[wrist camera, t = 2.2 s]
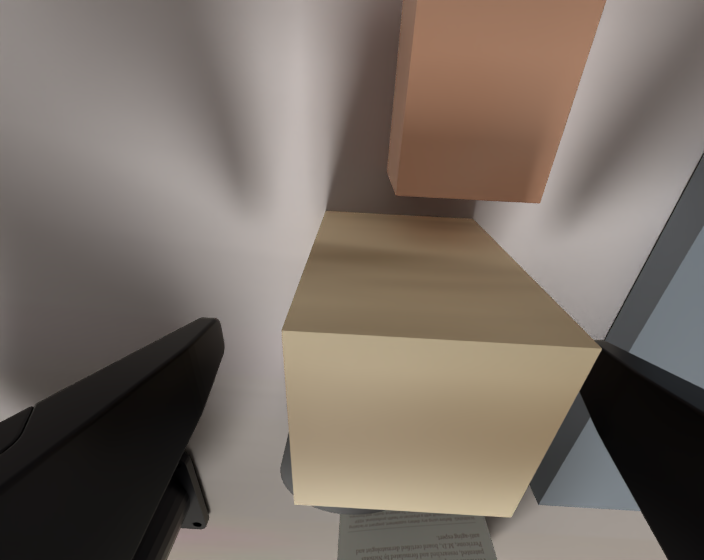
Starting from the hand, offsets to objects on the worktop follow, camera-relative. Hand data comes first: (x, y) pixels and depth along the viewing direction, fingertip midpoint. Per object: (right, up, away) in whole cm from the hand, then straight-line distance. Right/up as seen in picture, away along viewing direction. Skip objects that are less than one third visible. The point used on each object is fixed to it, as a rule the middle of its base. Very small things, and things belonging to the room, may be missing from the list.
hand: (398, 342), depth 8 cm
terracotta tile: (+1, +7, 0) cm, 7 cm away
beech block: (0, +2, +3) cm, 3 cm away
